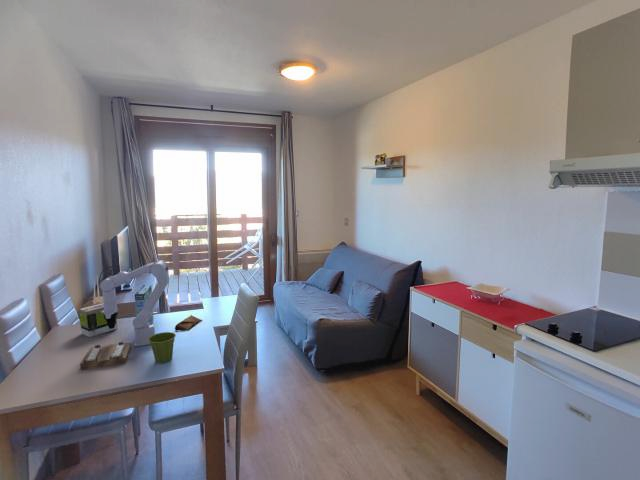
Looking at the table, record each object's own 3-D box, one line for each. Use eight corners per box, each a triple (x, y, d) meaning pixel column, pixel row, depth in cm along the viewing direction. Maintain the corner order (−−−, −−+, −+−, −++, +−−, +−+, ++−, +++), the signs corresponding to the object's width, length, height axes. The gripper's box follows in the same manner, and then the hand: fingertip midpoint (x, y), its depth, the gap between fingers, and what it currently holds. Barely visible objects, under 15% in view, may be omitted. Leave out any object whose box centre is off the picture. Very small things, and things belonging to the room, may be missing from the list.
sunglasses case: (188, 331, 203) (182, 320, 203) (179, 336, 204) (172, 326, 204) (203, 319, 220) (197, 310, 220) (194, 325, 222) (188, 315, 221)
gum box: (145, 322, 218) (142, 285, 214) (154, 321, 219) (151, 284, 216) (136, 334, 199) (133, 294, 196) (146, 333, 200) (143, 293, 197)
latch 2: (124, 345, 177) (124, 344, 177) (119, 356, 165) (119, 355, 165) (117, 346, 176) (117, 345, 176) (112, 357, 164) (112, 356, 164)
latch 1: (101, 348, 174) (100, 347, 173) (94, 360, 162) (94, 358, 162) (93, 349, 173) (93, 348, 172) (87, 361, 161) (86, 359, 161)
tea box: (109, 325, 212) (107, 301, 210) (117, 329, 206) (115, 304, 204) (80, 333, 200) (78, 308, 198) (88, 338, 194) (86, 311, 192)
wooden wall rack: (131, 347, 182) (131, 338, 182) (126, 362, 165) (125, 353, 165) (90, 352, 176) (89, 343, 175) (80, 369, 159) (79, 359, 159)
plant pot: (150, 357, 171) (148, 334, 170) (176, 352, 176) (175, 330, 174) (149, 368, 160) (147, 344, 159) (177, 363, 165) (176, 339, 164)
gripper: (103, 298, 187) (106, 323, 189) (97, 307, 173) (100, 334, 175) (119, 297, 189) (121, 322, 191) (114, 305, 176) (116, 331, 178)
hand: (112, 327), depth 183 cm, fingers closed
